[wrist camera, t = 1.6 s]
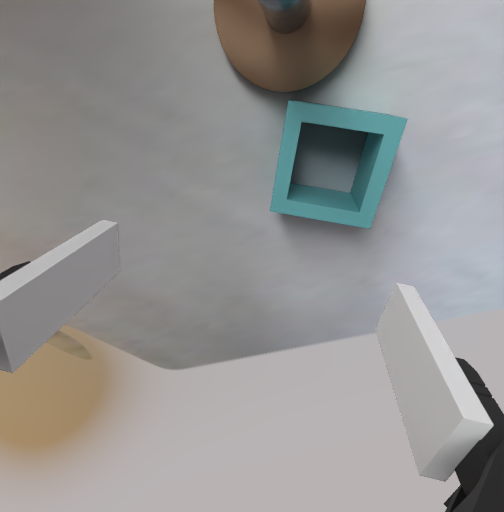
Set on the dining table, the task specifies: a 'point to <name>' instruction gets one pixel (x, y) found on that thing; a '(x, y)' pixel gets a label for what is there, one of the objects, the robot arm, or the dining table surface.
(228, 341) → the dining table surface
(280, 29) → the post
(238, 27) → the post base
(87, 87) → the dining table surface
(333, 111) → the collar
